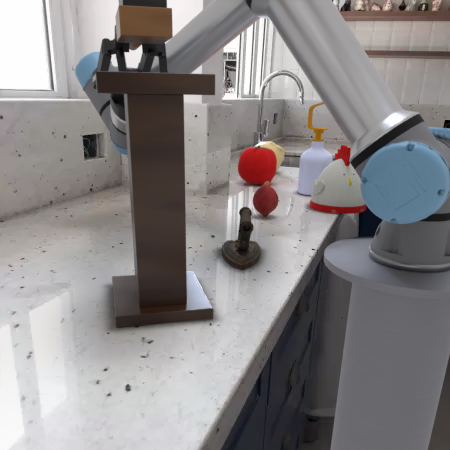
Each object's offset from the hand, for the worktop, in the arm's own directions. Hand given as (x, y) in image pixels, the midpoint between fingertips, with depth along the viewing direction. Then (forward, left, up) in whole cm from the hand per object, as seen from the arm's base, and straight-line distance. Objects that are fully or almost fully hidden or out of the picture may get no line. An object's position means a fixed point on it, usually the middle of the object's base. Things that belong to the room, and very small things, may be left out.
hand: (137, 13), depth 64 cm
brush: (0, 0, -4) cm, 4 cm away
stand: (-5, +14, -36) cm, 39 cm away
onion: (-18, -38, -36) cm, 55 cm away
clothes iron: (-15, -6, -36) cm, 39 cm away
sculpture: (-16, -106, -36) cm, 113 cm away
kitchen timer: (-36, -51, -36) cm, 72 cm away
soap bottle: (-31, -69, -36) cm, 84 cm away
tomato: (-14, -82, -36) cm, 91 cm away
